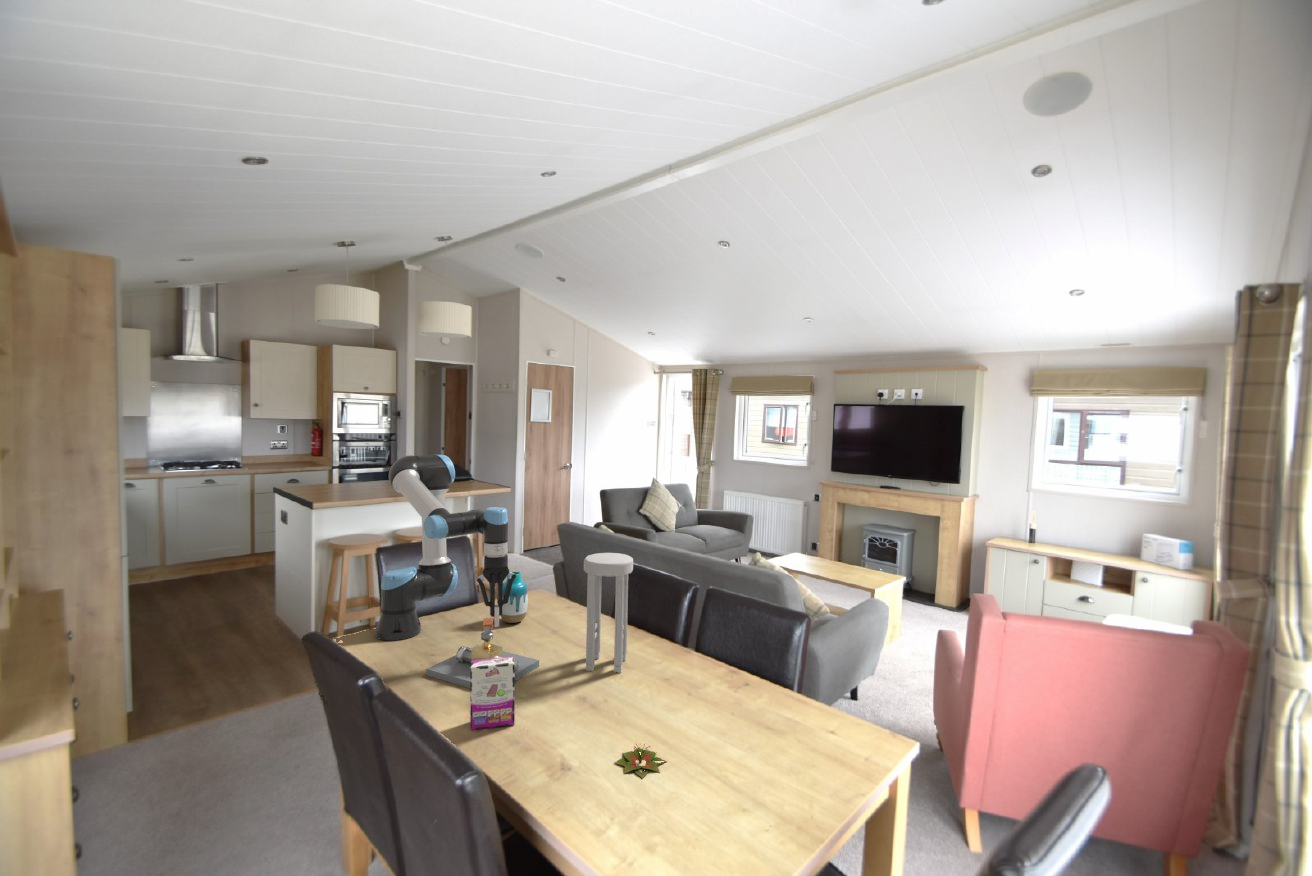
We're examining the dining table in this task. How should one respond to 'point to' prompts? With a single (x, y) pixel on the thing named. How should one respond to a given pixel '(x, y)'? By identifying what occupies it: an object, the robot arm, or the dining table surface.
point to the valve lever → (487, 629)
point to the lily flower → (635, 755)
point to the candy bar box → (492, 693)
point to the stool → (595, 569)
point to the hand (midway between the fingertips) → (496, 625)
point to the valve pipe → (481, 653)
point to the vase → (515, 600)
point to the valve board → (461, 671)
